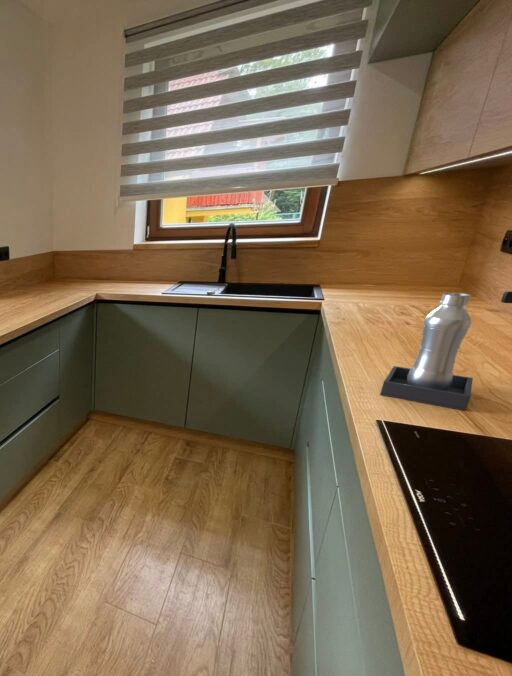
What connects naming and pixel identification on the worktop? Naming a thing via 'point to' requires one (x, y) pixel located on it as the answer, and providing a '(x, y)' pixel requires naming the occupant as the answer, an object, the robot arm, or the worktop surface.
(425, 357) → the silver bottle
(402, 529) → the worktop surface
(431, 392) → the tray
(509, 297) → the robot arm
